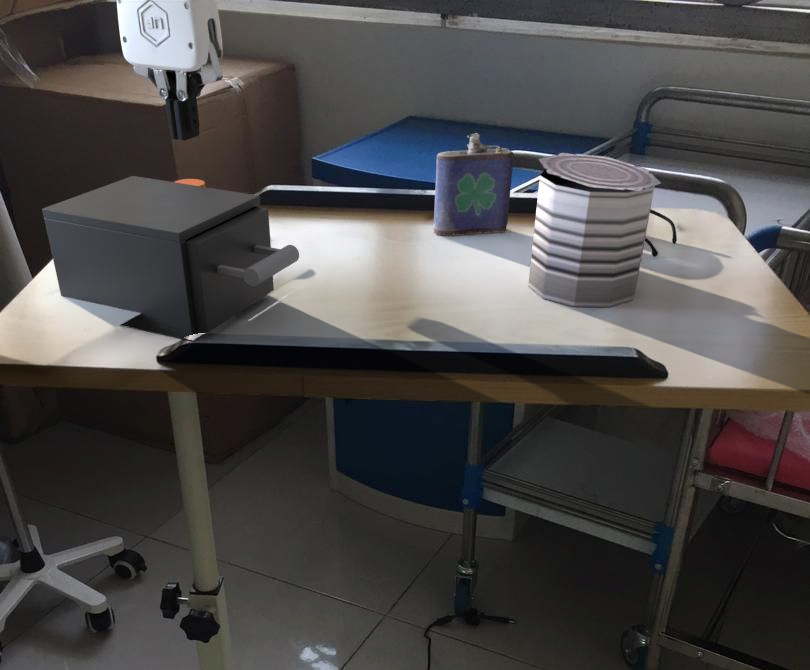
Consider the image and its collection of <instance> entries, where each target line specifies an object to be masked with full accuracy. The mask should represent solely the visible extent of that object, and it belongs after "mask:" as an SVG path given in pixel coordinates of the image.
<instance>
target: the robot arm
mask: <svg viewBox="0 0 810 670" xmlns="http://www.w3.org/2000/svg"><path fill="white" fill-rule="evenodd" d="M218 8H219V7H218V2H217V0H116V9H117V21H118V29H119V37H120V38H119V39H120V44H121V50H122V54H123V58H124V59H125V61H126V62H128V63H129V64H130V65H132V69H133V72H134V74H136V75H138V76H140V77H143V78H145V79H149V80H150V82H151V83H152V84H153V85H154V86H155V88H156V89H157V91H158V95H159V97H160V98H161V99H162V100H164V101H165V109H166V110H165V111H166V116H167V117H166V118H167V124H168V128H169V133H170V135H169V136H170V138H171V140H176V141H177V140H179V141H183V142H185V141H188V140H191V139H194V138H196V137H199V136H200V117H199V109H198V108H199V107H198V100H197V98H199V97H201V95H202V94H201V93H202V91H203V89H204V87H205V86H206V85H207V84H213V83H216V82H219V81H222V79H223V77H224V75H223V72H222V71H223V70H222V67H221V64H220V63H222V61H223V55H224V51H223V50H224V49H223V37H222V36H223V35H222V28H221V27H222V26H221V20H220V14H219V13H220V12H219V9H218ZM202 67H203V69H202Z"/></svg>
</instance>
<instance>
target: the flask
mask: <svg viewBox="0 0 810 670" xmlns="http://www.w3.org/2000/svg"><path fill="white" fill-rule="evenodd" d="M466 137H467V138H468V139H469V143H467V144H466V146H467V149H466V150H452V151H449V150H448V151H441V152H438V153H437V154H436V160H435V161H436V164H435V165H436V167H435V186H434V187H435V189H434V209H433V210H434V211H433V212H434V213H433V226H432V229H433V233H434V234H436V236H441V235H443V236H446V237H447V236H449V237H450V236H455V235H457V236H460V235H461V236H462V235H465V236H466V235H468V236H470V235H475V234H477V233H478V234H479V233H480V234H485V233H491V234H492V233H504V232H506V231H507V227H508V222H509V221H508V220H509V210H510V201H511V187H512V179H513V178H512V177H513V170H514V169H513V168H514V160H515V159H514V158H515V154H514V152H513V151H512V150H510V149H509V148H507V147H501V146H499V145H485V144H483V143H482V142H481V140H480V137H481V134H479V133H478V132H475V133H472V134H470V135H469V134H468V135H467V136H466Z"/></svg>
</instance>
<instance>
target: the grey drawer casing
mask: <svg viewBox="0 0 810 670" xmlns="http://www.w3.org/2000/svg"><path fill="white" fill-rule="evenodd" d="M257 207H259V208H262V207H261V196H260V195H258V194H257V195H256V194H252V193H247V192H239V191H233V190H227V189H219V188H214V187H208V186H207V187H206V186H205V187H201V186H195V185H188V184H182V183H175V181H168V180H163V179H155V178H150V177H143V176H137V175H131V176H129V177H125V178H122V179H121V180H117V181H115V182H112V183H109V184H107V185H104V186H101V187H98V188H96V189H93V190H90V191H87V192H84V193H82V194H78V195H76V196H74V197H71V198H68V199H66V200H62V201H60V202H56V203H54V204H51V205H48V206H45V207H42V209H41V211H42V216H43V219H44V220H43V221H44V224H45V229H46V234H47V237H48V242H49V247H50V251H51V256H52V261H53V265H54V269H55V275H56V280H57V283H58V288H59V293H60V297H64V298H68V299H73V300H77V301H83V302H87V303H93V304H95V305H96V304H97V305H101V306H105V307H111V308H115V309H119V310H124V311H129V312H133V313H138V314H137V315H135V316H133V317H131V318H130V319H128V320H126V321H124V322H123V323H120V326H121V327H127V328H131V329H136V330H140V331H145V332H148V333H154V334H158V335H162V336H167V337H172V338H175V339H180V340H184V339H183V338H184V337H186V336H189V335H193V334H198V333H206V334H208V333H209V332H211V331H212V330H214V329H215V328H217V327H219V326H220V325H222V324H224V323H225V322H226V321H228V320H230V319H232V318H233V317H234V316H236V315H238V314H240V313H241V312H242V311H245V310H246V309H247V308H249V307H250V306H252V305H253V304H255V303H257V302H258V301H261V299H263V298H265V297H266V296H267V295H265V296H264V297H262V298H261V299H259V300H258V301H256V302H254V303H253V304H251V305H250V306H248V307H246V308H245V309H243V310H242V311H240V312H238V313H237V314H235V315H234V316H232V317H230V318H229V319H227V320H226V321H224V322H223V323H221V324H219V325H218V326H216V327H215V328H213V329H211V330H210V331H208V332H205V331H200V330H196V323H195V316H194V308H193V300H192V292H191V284H190V276H189V268H188V260H187V252H186V244H185V242H186V241H185V240H187V239H189V238H191V237H193V236H195V235H197V234H199V233H201V232H203V231H205V230H207V229H210V228H212V227H214V226H216V225H218V224H220V223H222V222H224V221H226V220H228V219H230V218H232V217H235V216H237V215H239V214H241V213H242V214H245V213H247V212H249V211H251V210H253V209H255V208H257Z"/></svg>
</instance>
